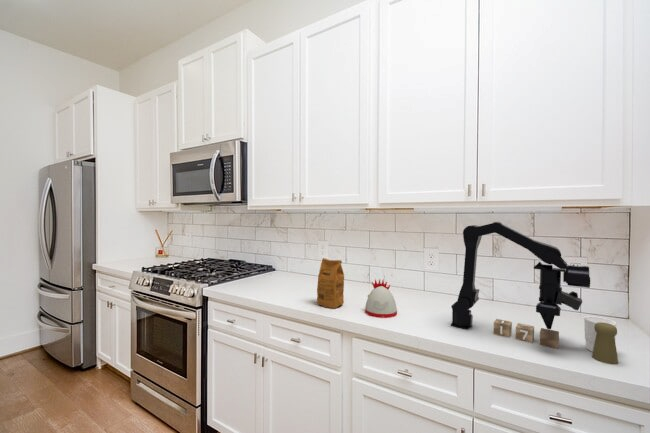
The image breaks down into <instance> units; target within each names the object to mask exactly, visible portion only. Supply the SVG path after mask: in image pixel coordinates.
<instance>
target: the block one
mask: <svg viewBox="0 0 650 433" xmlns="http://www.w3.org/2000/svg"><path fill="white" fill-rule="evenodd" d="M512 325H513V321H511V320H503V319H501V318H500V319H499V318H495V320H494V321H493V335H495V336H499V337H505V338H508V339H509V338H510V337H511V336H512V332H513V331H512V329H513V326H512Z"/></svg>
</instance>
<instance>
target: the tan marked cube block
mask: <svg viewBox="0 0 650 433" xmlns="http://www.w3.org/2000/svg"><path fill="white" fill-rule="evenodd" d="M514 338H515V340H518V341H521V342H526V343H530V344H533V342H534V340H535V326H534V325H530V324H525V323H520V322H519V323H517V324H516V326H515V337H514Z"/></svg>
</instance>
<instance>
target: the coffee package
mask: <svg viewBox="0 0 650 433" xmlns="http://www.w3.org/2000/svg"><path fill="white" fill-rule="evenodd" d="M342 264H343V262H342V259H341V260H340V259H335V260H333V259H331V260H330V259H327V258H324V257H323V258H322V260H321V263H320V267H319V273H318V277H317V287H316V294H317V295H316V296H317V298H316V305H317V306H323V307H324V308H327V309H328V308H330V309H337V308H338V307H340V306H343V304H344V299H345V298H344V291H345V274H344V273H345V272H344V270H343V267H342Z"/></svg>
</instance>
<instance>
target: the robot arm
mask: <svg viewBox="0 0 650 433" xmlns="http://www.w3.org/2000/svg"><path fill="white" fill-rule="evenodd" d="M490 234H497V235H499V236H501V237H503V238H505V239H507V240H509V241H510V242H512V243H514V244H516V245H519V246H520V247H521V248H523V249H526V250H528V251H529V252H530V253H532V255H534V256H535V257H536V258H538V259H540V261H538V262H537V263H536V264H535V265H533V269H535V270H539V285H538V289H539V297H538V303H536V307H535V312H536V313H538V314H540V316H541V319H542V321H543V324H544V325H545V329H549V330H552V326H553V324H554V318H555V317H561V310H562V308H561V307H560V306H562V305H565V306H567V307H569V308H572V309H573V310H575V311H579V309H580V307H581V306H582V303H583V299H582V298H581V297H579V296H578V293H577V292H575V291H570V292H566V291H563V287H561V283H562V281H563V283H565V284H566V285H567V286H569V287H571V286H572V287H576V288H577V287H579V288H588V289H590V287H591V277H590V267H589V266H587V265H582V266H579V265H570V264H568V263H567V261H565V260H564V258H562V252H561V249H559V248H558V247H557V246H553V245H551V244H549V243H548V244H547V243H545V242H542V241H538V240H535V239H533V238H531V237H529V236H526V235H525V234H523V233H521V232H520V231H518V230H517V231H516V230H514V229H513V228H511V227H509V226H507V225H505V224H503V223H502V222H500V221H493V222H492V223H487V224H484V225H476V224H475V225H468V226H465V227H464V229H463V230H462V235H463V236H462V237H463V244H464V247H465V253H464V266H463V278H462V284H461V288H460V290H459V293H458V296H457V300H456V301H455V302H454V303H453V304H452V305H451V310H452V312H451V314H452V316H451V319H452V320H451V323H450V326H452V327H456V328H459V329H460V328H461V329H464V330H465V329H466V330H469V329H470V328H471V327H472V326H473V319H474V318H473V317H474V315H473V314H472V310H471V308H473V307H474V306H475V304H476V303H477V302H478V301H479V300H480V297H479V293H480V289H478V288H477V289H476V283H475V281H476V269H477V257H478V249H479V246H480V244H481V241H482V238H483V236H485V235H490ZM541 261H542V262H543V263H542V262H541ZM554 266H555V267H554ZM562 272H563V274H562ZM562 276H563V278H562ZM562 279H563V280H562ZM561 280H562V281H561Z"/></svg>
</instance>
